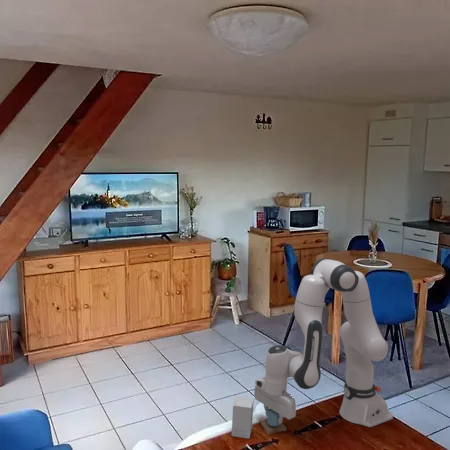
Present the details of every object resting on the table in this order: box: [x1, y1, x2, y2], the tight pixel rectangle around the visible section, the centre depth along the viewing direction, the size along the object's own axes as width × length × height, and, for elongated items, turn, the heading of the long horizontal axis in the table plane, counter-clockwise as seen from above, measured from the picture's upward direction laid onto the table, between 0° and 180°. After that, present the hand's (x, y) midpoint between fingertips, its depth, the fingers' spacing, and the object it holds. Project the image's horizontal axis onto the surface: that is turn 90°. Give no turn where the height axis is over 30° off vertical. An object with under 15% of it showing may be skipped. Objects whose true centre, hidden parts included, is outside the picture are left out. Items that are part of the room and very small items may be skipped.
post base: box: [259, 418, 288, 435], centre depth 181 cm, size 8×8×4 cm
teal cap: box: [266, 408, 280, 426], centre depth 181 cm, size 5×5×5 cm
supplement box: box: [231, 396, 255, 439], centre depth 176 cm, size 7×7×13 cm
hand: (273, 418), depth 181 cm, fingers closed on teal cap, 5 cm apart
